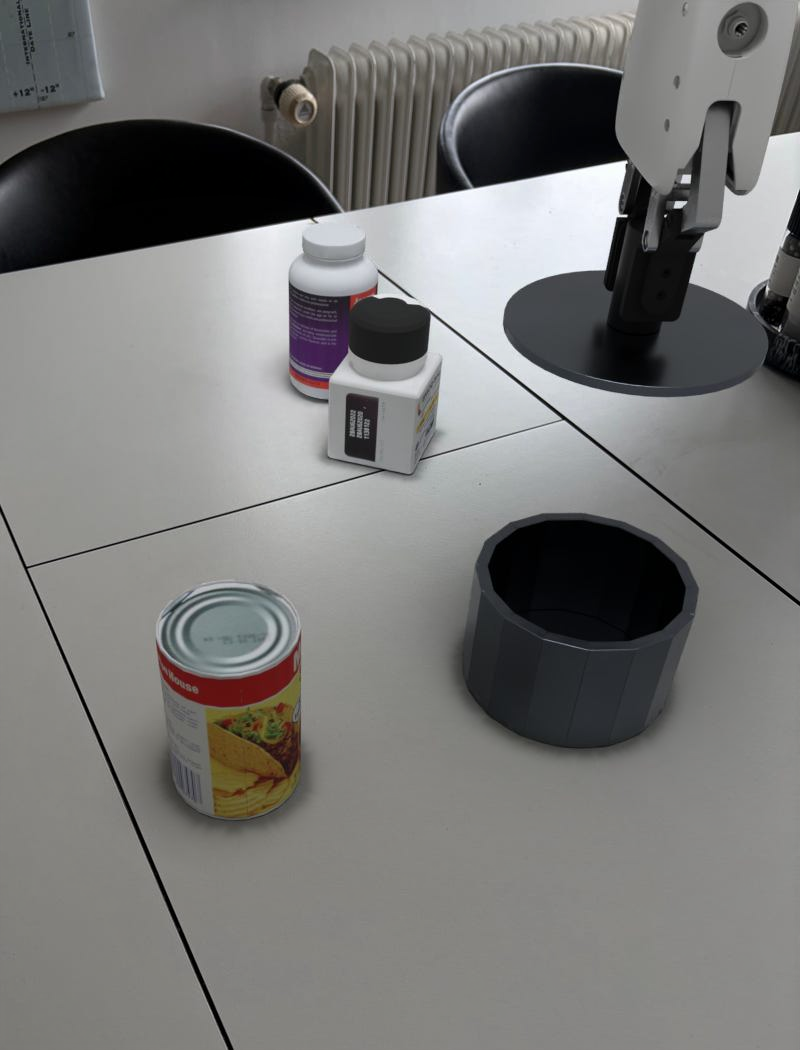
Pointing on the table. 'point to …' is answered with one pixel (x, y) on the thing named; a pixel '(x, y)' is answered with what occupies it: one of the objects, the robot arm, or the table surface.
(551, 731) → the tin
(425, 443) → the container
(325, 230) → the pill bottle
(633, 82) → the robot arm
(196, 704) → the canned food
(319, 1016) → the table surface
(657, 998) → the table surface
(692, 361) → the tin lid
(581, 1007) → the table surface
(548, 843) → the table surface
